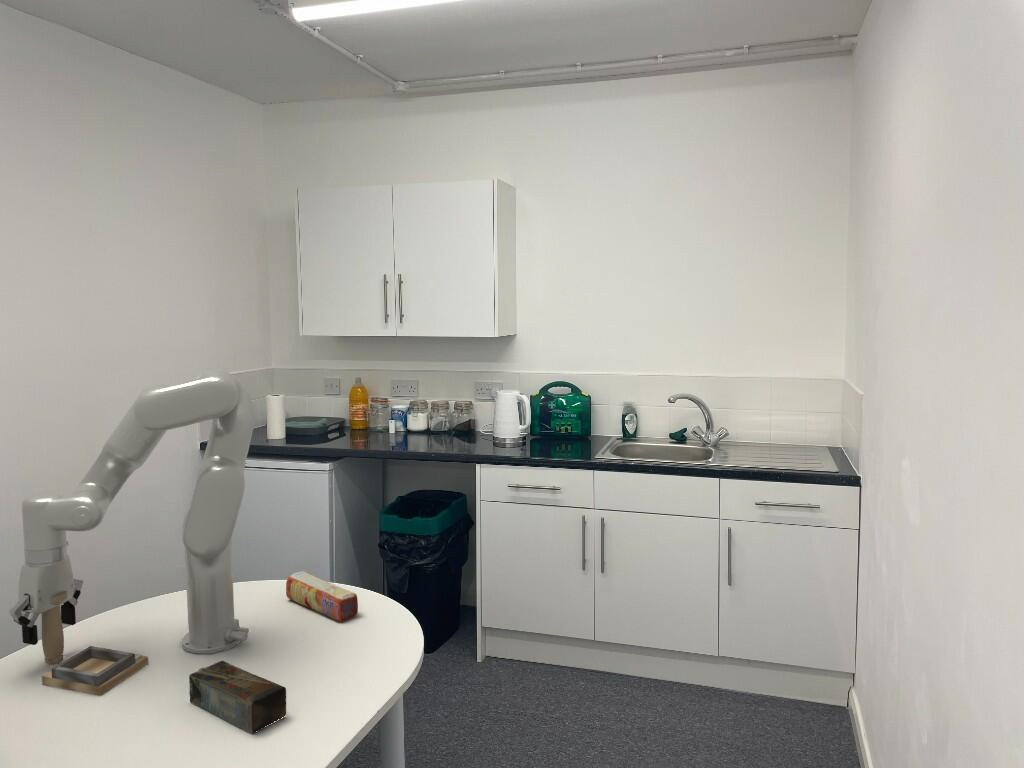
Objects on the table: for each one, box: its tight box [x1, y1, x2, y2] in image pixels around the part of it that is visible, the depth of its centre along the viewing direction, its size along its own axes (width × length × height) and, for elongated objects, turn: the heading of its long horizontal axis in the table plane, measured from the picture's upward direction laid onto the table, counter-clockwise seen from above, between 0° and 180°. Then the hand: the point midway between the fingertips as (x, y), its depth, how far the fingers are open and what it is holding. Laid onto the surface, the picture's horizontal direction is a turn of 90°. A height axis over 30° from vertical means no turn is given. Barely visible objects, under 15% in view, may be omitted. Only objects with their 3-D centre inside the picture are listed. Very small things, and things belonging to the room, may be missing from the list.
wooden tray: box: [41, 645, 149, 696], centre depth 166 cm, size 14×13×4 cm
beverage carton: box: [188, 660, 287, 734], centre depth 153 cm, size 8×19×7 cm, turn 55°
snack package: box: [285, 571, 359, 623], centre depth 199 cm, size 21×7×7 cm, turn 50°
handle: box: [41, 591, 67, 666], centre depth 170 cm, size 5×6×15 cm
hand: (50, 633), depth 170 cm, fingers open, 9 cm apart
